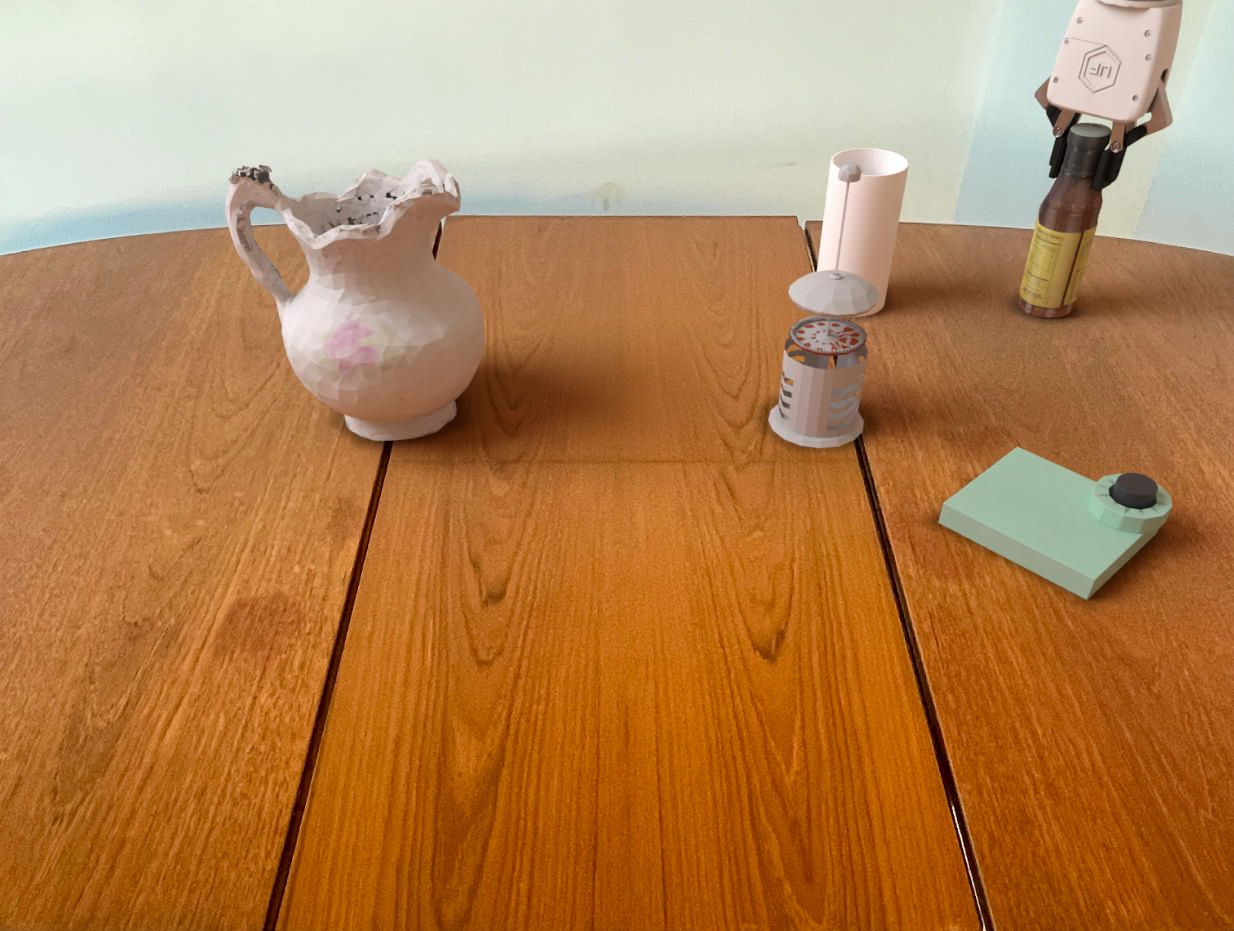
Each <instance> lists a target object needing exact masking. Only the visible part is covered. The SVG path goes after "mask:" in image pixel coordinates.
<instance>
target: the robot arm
mask: <svg viewBox="0 0 1234 931" xmlns="http://www.w3.org/2000/svg"><path fill="white" fill-rule="evenodd" d="M1183 6H1184V0H1078V2H1077V4H1076V7H1075V9H1074V10H1073V13H1072V15H1071V17H1070V20H1069V22H1068V25H1067V28H1066V30H1065V32H1064V35H1063V37H1062V41H1061V43H1060V47H1059V49H1058V53H1057V55H1056V58H1055V62H1054V64H1053V67H1052V71H1051V74H1050V76H1049V77H1048V78H1047V79H1046V80H1045V81H1044V82H1043V83H1042V84H1041V85H1040V86H1039V87H1038V88H1037V89H1036V90H1035V92H1034V98H1035V100H1036V101H1037V103H1038V104H1039V105H1040V106H1041V108H1042V109H1043V110H1045V115H1046V116H1047V119H1048V120H1049V123H1050V125H1051V127H1052V132H1051V133H1052V135H1053V137H1054V138H1055V139H1054V142H1053V146H1052V150H1051V155H1050V158H1049V160H1048V166H1050V169H1049V173H1048V178H1050V179H1053V180H1054V179H1056V178H1057V177H1058V174H1059V172H1060V170H1061V166H1062V164H1063V162H1064V158H1065V154H1066V150H1067V146H1068V144H1067V138H1068V134H1069V131H1070V128H1071V127H1072V126H1074V125H1076V124H1078V123H1080V121H1081V118H1082V116H1083V115H1085V116H1089V117H1093V118H1098V119H1102V120H1106V121H1111V122H1112V124H1111V125H1112V126H1111V130H1112V133H1111V139H1110V143H1109V144H1108V147H1107V149H1106V148H1105V151H1103V153H1102V156H1101V159H1100V162H1099V166H1098V169H1097V172H1096V176H1095V179H1094V182H1093V185H1092V188H1093V190H1095V191H1100V190H1102V191H1103V190H1104V189H1105V188H1107V187H1109V186H1110V185H1112V183H1114V182H1116V180H1117V179H1118V177H1119V175H1120V172H1121V169H1122V165H1123V162H1124V159H1125V156H1126V153H1127V150H1128V148H1129V147H1130V146H1132V145H1133V144H1135V143H1136V142H1138V141H1140V140H1141V139H1143V138H1145V137H1147V136H1149V135H1152V134H1155V133H1157V132H1159V131H1162V130H1164V129H1166V128H1168V127H1170V126H1172V124H1173V122H1174V118H1173V114H1172V110H1171V106H1170V103H1169V99H1168V98H1169V97H1168V94H1167V91H1166V88H1167V85H1168V82H1169V78H1170V75H1171V70H1172V67H1173V63H1174V59H1175V55H1176V50H1177V46H1178V40H1179V35H1180V31H1181V24H1182V14H1183V8H1184V7H1183ZM1149 113H1150V114H1151V117H1150V119H1149V120H1147V121H1144V122H1143V123H1140V124H1138V120H1139V119H1141V118H1144V116H1145V114H1149Z"/></svg>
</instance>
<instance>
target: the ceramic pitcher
mask: <svg viewBox="0 0 1234 931" xmlns="http://www.w3.org/2000/svg"><path fill="white" fill-rule="evenodd" d="M231 173H232V174H231V176H230V177H229V178H228V182H229V183H228V184H229V185H228V189H227V193H226V196H225V205H224V215H225V219H226V223H227V226H228V231H229V233H230V237H231V239H232V242H233V245H234V248H235V250H236V252H237V255H238V256H239V257H240V259H241V260H242V262H243V263H244V264H245V265H246V266H247V267H248V269H249V270H250V272H251V274H252V275H253V277H254V279H255V281H256V283H257V284H259V285H260V286H261V287H262V288H264V289H265V290H267V292H268V293H269V294H270V295H271V297H272V298H273V299H274V300H275V303H276V307H277V312H278V317H279V321H280V324H281V335H282V340H283V346H284V348H285V353H286V358H287V359H288V361H289V364H290V365H291V368H292V370H293V372H294V373H295V375H296V377H297V379H298V380H299V381H300V383H301V384H302V386H303V387H304V388H305V389H306V390H307V391H308V392H309V393H310V394H311V395H313V397H315V398H316V399H317V400H318V401H319V402H321V403H323V404H324V405H326V406H327V407H328V408H330V409H331V410H333V411H334V412H336V413H339V414H342V415H344V420H345V423H346V427H347V428H348V429H349V431H350V432H353V433H354V434H356V435H358V436H360V437H361V438H363V439H369V440H370V441H375V442H384V441H386V442H387V441H389V442H390V441H402V440H413V439H416V438H419V437H424V436H425V437H426V436H428V435H431V434H434V433H437V432H439V431H440V430H441V429H442V428H443V427H445V425H446V424H448V423H449V422H452V421H453V420H454V418H455V417H456V416H457V412H458V410H457V403H456V400H457V399H458V398H459V397H460V396H461V395H462V394H463V393H464V391H465V390H466V389H467V388H468V386H469V385H470V383H471V381H472V380H473V378H474V376H475V374H476V372H477V370H478V368H479V366H480V364H481V362H482V358H483V354H484V351H485V346H486V345H485V344H486V337H485V335H486V332H485V320H484V315H483V311H482V307H481V303H480V300H479V298H478V296H477V294H476V292H475V290H474V289H473V287H472V286H471V285H470V284H469V283H468V282H467V281H466V280H465V279H464V278H463V277H462V276H461V275H459V274H458V273H457V272H454V271H453V270H450V269H448V268H446V267H444V266H443V265H441V264H438V262H437V261H436V260H435V257H434V254H433V253H434V252H433V249H432V248H433V247H432V241H431V239H432V236H433V233H434V231H435V229H436V228H437V227H438V225H439V224H440V222H441V221H442V220H443V219H445V218H446V217H448V216H450V215H451V214H454V213H456V212H460V209H461V202H462V196H461V190H460V186H459V183H458V181H456V179H455V177H454V176H453V175H452V174H451V172H449V170H448V169H447V168H446V167H444V166H443V165H442V164H441V163H440V161H439V159H432V158H430V159H421V160H418V161H416V163H414V164H413V165H412V167H411V169H410V170H409V171H408V173H407V174H406V175H405V176H404V177H397V176H393V175H388V174H385V173H384V172H383V171H380V170H378V169H376V168H372V169H370V170H367V171H365V172H364V173H362V175H360V176H359V177H358V178H356V179H355V180H353V182H352V183H351V184H350V185H349V186H348V187H347V188H346V189H345V191H343V192H342V194H334V193H332V192H325V191H315V192H312V193H311V192H310V193H307V194H303V195H301V196H299V197H297V198H296V197H290V196H288V195H285V194H283V192H282V190H281V189H280V187H278V185H277V184H275V183H273V181H272V180H271V178H270V177H271V176H270V173H273V171H272V168H271V166H270V165H264V164H260V163H259V165H258V166H257V167H256V166H255V167H254V166H245V165H242V166H241V168H240V167H233V170H232V171H231ZM256 207H260V208H265V209H271V210H274V212H276V213H277V214H278V216H280V218H282V220H284V223H286V226H287V227H288V229H289V231H290V232H291V234H292V235H293V236H294V238H295V239H296V241H297V242H298V244H299V246H300V247H301V249H302V250H303V253H304V255H305V258H306V262H307V264H308V268H309V277H308V280H307V282H306V283H305V284H304V285H303V286H302V287H301V288H300V289H299V290H298V291H297V292H292V291H291V289H290V288H289V287H288V286H287V284H286V283H285V281H284V279H283V278H282V276H281V274H280V271H279V270H278V267H277V266H276V265H275V263H274V262H273V261H272V260H271V259H270V258H269V256H268V255H267V254H266V252H265V251H264V250H263V249H262V247H261V246H260V245H259V243H258V242H257V241H256V239H255V235H254V231H253V226H252V222H251V212H252V211H253V210H254V209H255V208H256Z"/></svg>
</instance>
